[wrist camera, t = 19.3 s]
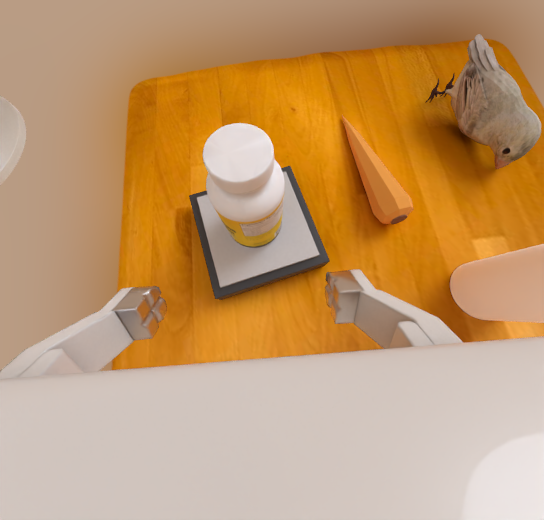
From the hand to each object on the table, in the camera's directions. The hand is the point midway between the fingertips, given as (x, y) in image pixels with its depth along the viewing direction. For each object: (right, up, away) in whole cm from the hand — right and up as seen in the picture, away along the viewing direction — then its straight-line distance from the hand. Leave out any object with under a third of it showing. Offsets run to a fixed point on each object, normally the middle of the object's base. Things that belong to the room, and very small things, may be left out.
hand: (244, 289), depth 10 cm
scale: (-1, +5, +17) cm, 18 cm away
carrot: (+15, +15, +20) cm, 29 cm away
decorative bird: (+31, +21, +21) cm, 43 cm away
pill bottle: (-1, +6, +15) cm, 16 cm away
